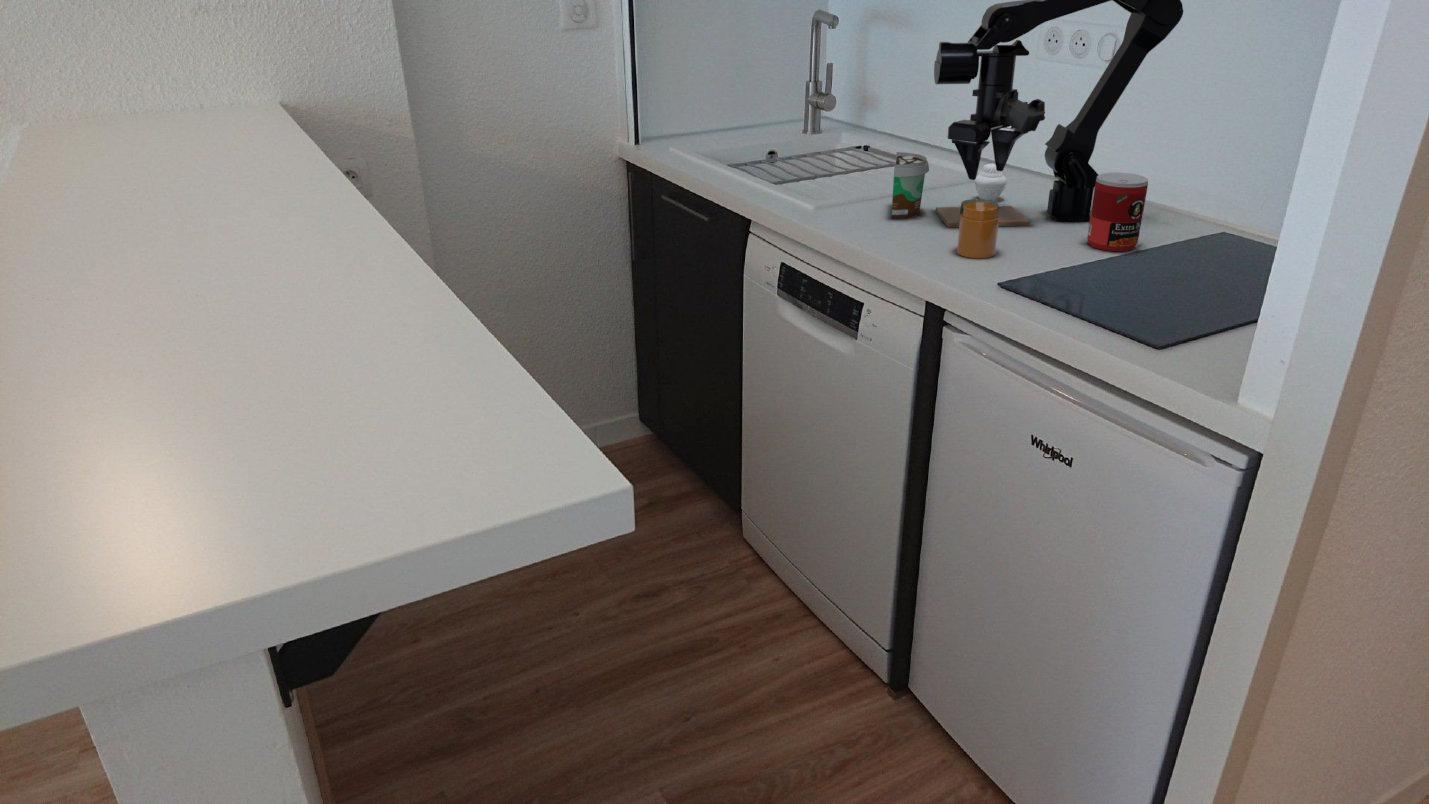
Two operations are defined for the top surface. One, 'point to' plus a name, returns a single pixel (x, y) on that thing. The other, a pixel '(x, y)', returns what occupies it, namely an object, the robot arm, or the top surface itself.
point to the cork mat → (1005, 213)
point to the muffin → (990, 183)
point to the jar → (978, 230)
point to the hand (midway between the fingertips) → (986, 175)
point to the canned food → (1117, 211)
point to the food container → (908, 184)
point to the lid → (976, 201)
